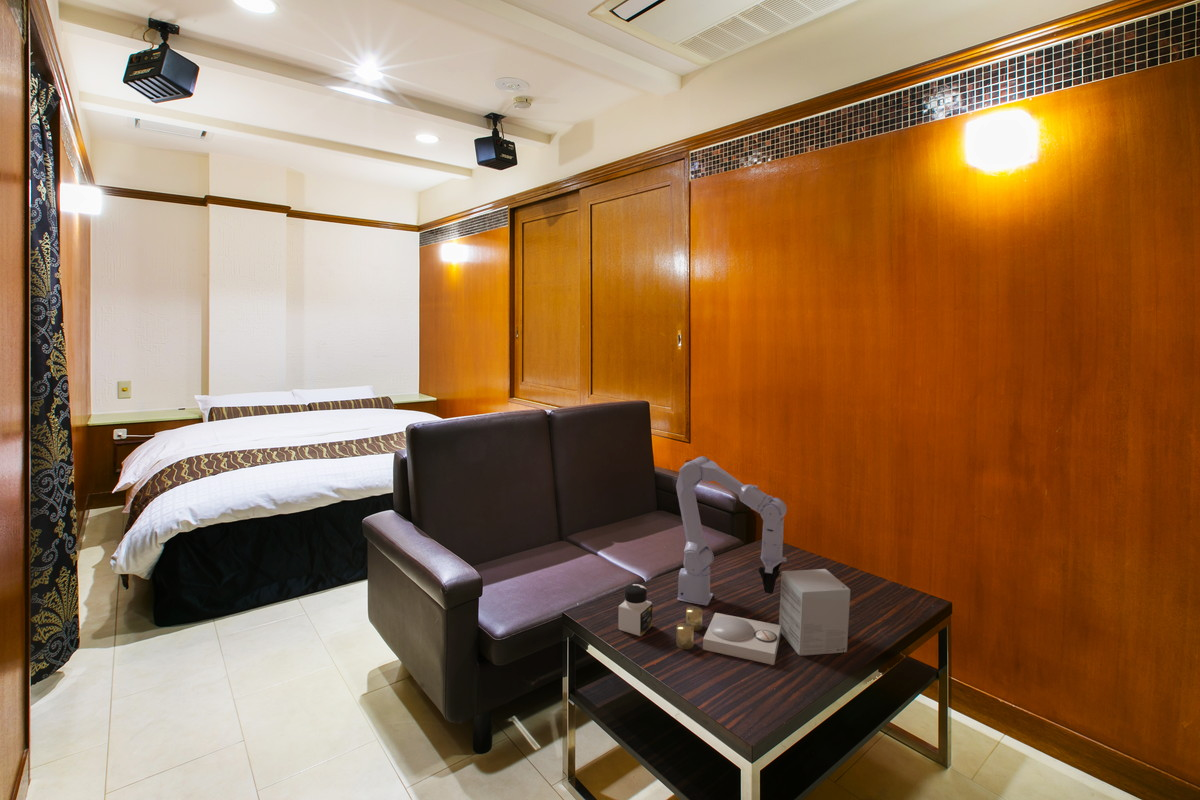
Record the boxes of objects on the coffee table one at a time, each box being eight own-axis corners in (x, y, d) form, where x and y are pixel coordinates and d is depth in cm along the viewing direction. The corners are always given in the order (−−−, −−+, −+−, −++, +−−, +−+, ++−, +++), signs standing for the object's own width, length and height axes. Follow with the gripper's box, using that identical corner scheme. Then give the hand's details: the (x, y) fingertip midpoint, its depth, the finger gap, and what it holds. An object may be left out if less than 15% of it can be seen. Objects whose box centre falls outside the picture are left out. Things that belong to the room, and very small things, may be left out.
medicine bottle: (640, 637, 159) (641, 595, 158) (618, 629, 163) (618, 589, 161) (652, 625, 165) (653, 585, 164) (630, 618, 169) (630, 579, 167)
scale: (702, 649, 153) (703, 636, 153) (714, 622, 167) (715, 610, 166) (774, 665, 146) (774, 651, 146) (780, 635, 160) (780, 623, 160)
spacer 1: (674, 647, 154) (674, 629, 154) (678, 638, 159) (679, 621, 158) (691, 650, 153) (691, 632, 152) (695, 642, 157) (695, 624, 156)
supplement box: (822, 626, 165) (825, 567, 162) (847, 653, 152) (851, 589, 149) (777, 629, 163) (780, 570, 161) (799, 656, 150) (802, 592, 148)
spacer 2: (684, 628, 164) (684, 612, 163) (688, 621, 168) (688, 604, 167) (699, 632, 162) (700, 615, 161) (703, 624, 166) (704, 607, 165)
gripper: (784, 553, 158) (782, 600, 160) (789, 535, 171) (786, 579, 173) (758, 549, 161) (755, 595, 163) (764, 531, 174) (762, 575, 176)
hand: (770, 587), depth 168 cm, fingers open, 7 cm apart
